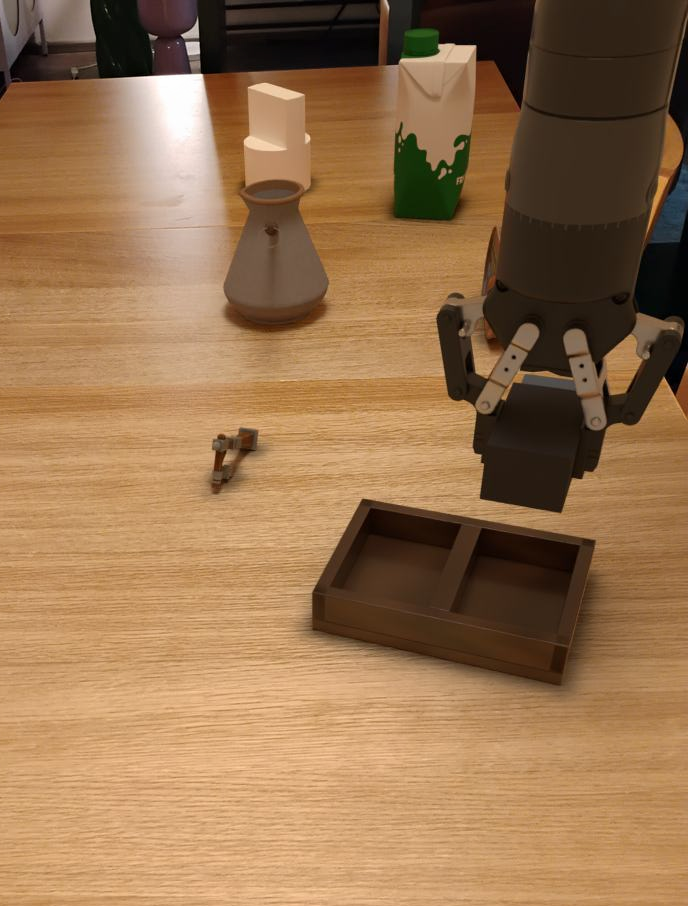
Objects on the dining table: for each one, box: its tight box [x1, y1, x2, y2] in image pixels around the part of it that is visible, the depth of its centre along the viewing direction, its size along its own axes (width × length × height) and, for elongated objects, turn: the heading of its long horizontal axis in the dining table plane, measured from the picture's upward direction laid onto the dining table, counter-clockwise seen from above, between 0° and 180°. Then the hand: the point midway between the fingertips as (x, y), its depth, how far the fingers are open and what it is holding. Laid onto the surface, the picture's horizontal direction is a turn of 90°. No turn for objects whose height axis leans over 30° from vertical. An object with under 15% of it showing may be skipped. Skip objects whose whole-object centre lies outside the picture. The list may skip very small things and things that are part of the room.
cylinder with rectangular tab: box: [243, 82, 312, 192], centre depth 138 cm, size 9×9×12 cm
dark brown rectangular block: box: [479, 381, 584, 514], centre depth 65 cm, size 5×8×4 cm, turn 157°
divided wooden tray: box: [311, 497, 597, 686], centre depth 74 cm, size 18×12×4 cm
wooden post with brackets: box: [211, 426, 259, 489], centre depth 90 cm, size 2×8×4 cm, turn 157°
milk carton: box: [393, 28, 477, 221], centre depth 125 cm, size 9×9×20 cm
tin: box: [481, 225, 502, 340], centre depth 105 cm, size 15×3×8 cm, turn 172°
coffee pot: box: [222, 179, 330, 326], centre depth 105 cm, size 21×12×15 cm, turn 176°
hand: (532, 463), depth 66 cm, fingers closed on dark brown rectangular block, 5 cm apart
